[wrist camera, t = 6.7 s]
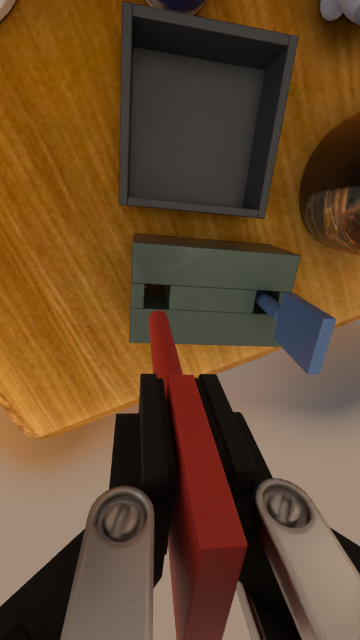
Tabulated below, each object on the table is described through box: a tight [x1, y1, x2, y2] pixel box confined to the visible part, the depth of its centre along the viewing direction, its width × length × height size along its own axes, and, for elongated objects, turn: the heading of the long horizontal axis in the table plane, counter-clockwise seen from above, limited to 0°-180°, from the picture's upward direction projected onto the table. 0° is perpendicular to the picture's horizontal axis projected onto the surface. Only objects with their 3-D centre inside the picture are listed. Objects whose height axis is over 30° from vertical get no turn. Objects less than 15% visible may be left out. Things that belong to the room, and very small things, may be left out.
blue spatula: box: [255, 290, 336, 374], centre depth 23 cm, size 1×4×14 cm, turn 174°
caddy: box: [129, 233, 300, 347], centre depth 26 cm, size 13×8×6 cm, turn 85°
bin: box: [119, 1, 299, 219], centre depth 22 cm, size 11×11×4 cm
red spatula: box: [148, 310, 247, 640], centre depth 12 cm, size 1×4×14 cm, turn 174°
